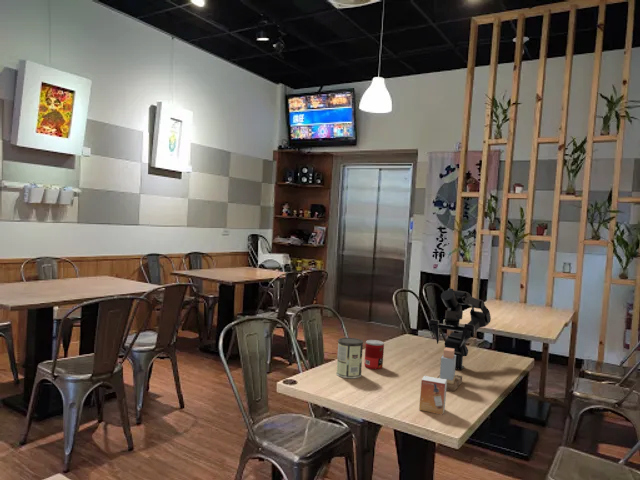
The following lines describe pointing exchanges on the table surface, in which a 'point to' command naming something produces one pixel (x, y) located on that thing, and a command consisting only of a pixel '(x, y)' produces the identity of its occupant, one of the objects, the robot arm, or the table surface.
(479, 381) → the table surface
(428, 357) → the table surface
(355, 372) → the coffee can
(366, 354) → the canned food
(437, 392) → the small box
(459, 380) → the dock
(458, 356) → the robot arm
